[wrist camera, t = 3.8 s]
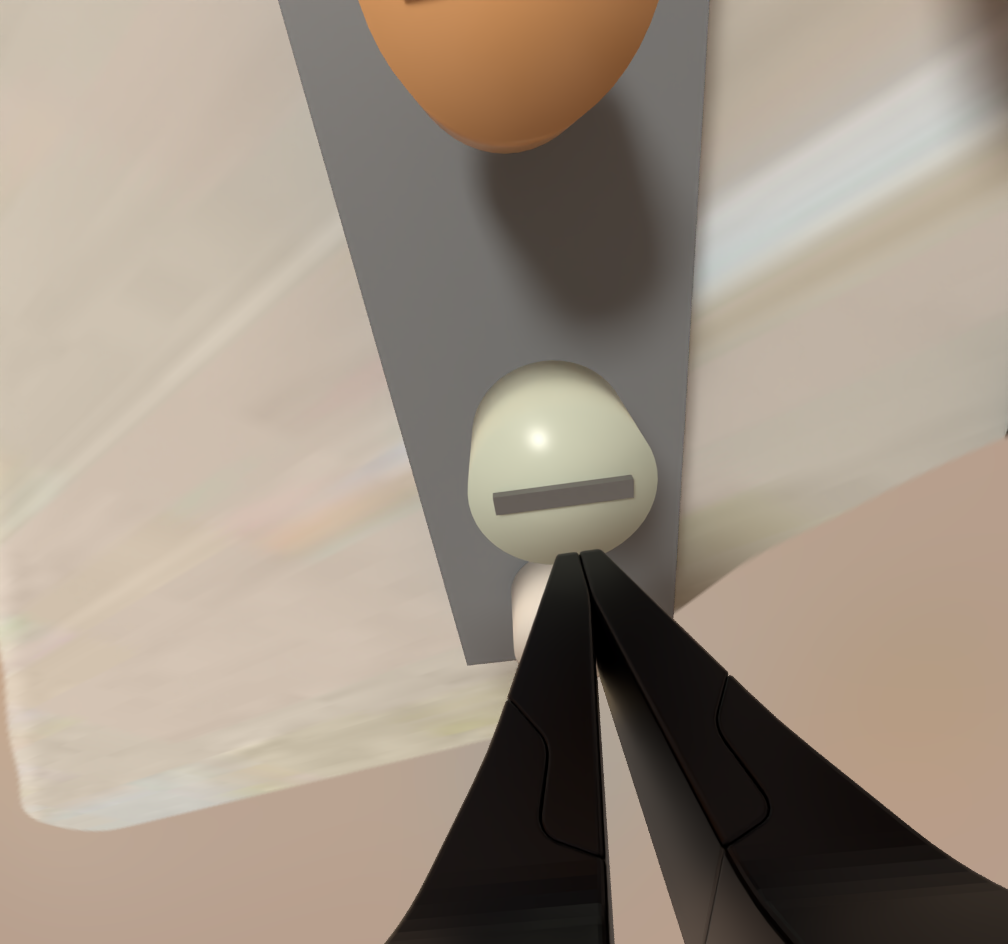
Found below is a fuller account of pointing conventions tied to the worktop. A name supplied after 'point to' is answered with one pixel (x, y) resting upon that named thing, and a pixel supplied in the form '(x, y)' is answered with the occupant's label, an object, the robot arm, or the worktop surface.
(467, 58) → the knob
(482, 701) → the worktop surface
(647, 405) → the knob mount
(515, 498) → the knob centre
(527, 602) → the knob
